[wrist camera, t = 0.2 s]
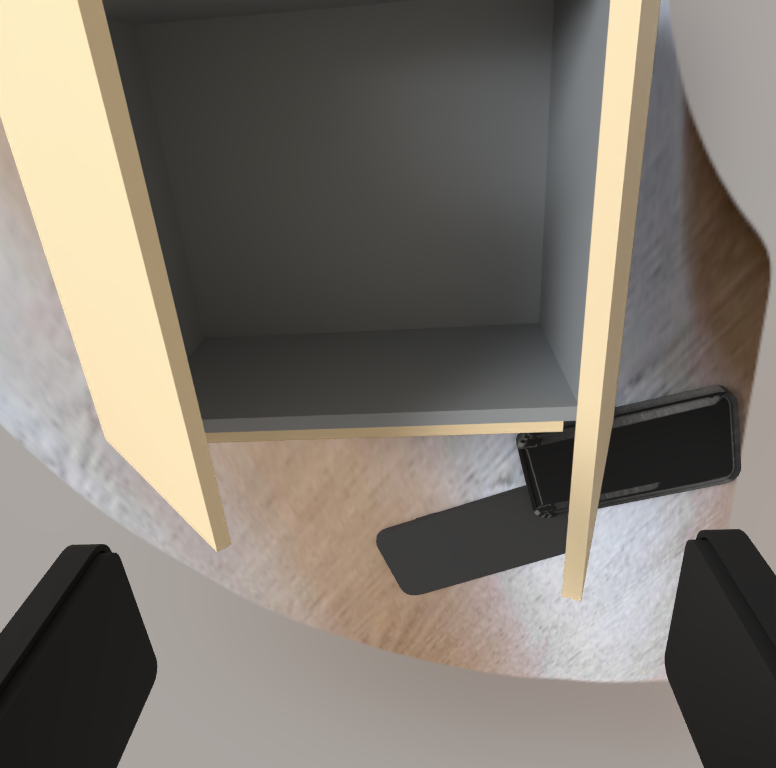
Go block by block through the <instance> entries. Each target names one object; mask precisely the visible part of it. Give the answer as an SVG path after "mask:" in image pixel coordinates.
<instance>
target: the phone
mask: <svg viewBox="0 0 776 768" xmlns="http://www.w3.org/2000/svg"><path fill="white" fill-rule="evenodd" d="M567 528H568V517H567V515H563V516H558V517H552V518H542V517H539V516H537V515H536V514H535V513H534V511H533V509H532V505H531V501H530V497H529V493H528V489H527V485H525V486H522V487H519V488H515V489H512V490H509V491H506V492H502V493H499V494H496V495H493V496H490V497H486V498H483V499H480V500H477V501H473V502H470V503H467V504H464V505H460V506H457V507H454V508H451V509H447V510H444V511H441V512H438V513H433V514H429V515H426V516H423V517H420V518H416V519H415V520H412V521H408V522H405V523H402V524H399V525H395V526H392V527H389V528H386V529H384V530H382V531H380V532H379V533H378V535H377V540H376V543H377V547H378V549H379V550H380V552H381V554H382V556H383V558H384V559H385V561H386V563H387V565H388V567H389V568H390V570H391V572H392V574H393V575H394V577H395V579H396V581H397V583H398V584H399V586H400V588H401V589H402V590H403V591H404V592H405V593H406V594H409V595H420V594H424V593H427V592H431V591H434V590H438V589H441V588H445V587H448V586H452V585H456V584H459V583H463V582H466V581H470V580H473V579H477V578H480V577H484V576H487V575H491V574H494V573H498V572H501V571H505V570H508V569H512V568H515V567H519V566H522V565H526V564H529V563H533V562H536V561H540V560H543V559H547V558H550V557H554V556H557V555H561V554H564V553H566V540H567Z"/></svg>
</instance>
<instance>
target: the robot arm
mask: <svg viewBox="0 0 776 768" xmlns="http://www.w3.org/2000/svg"><path fill="white" fill-rule="evenodd" d="M665 668H666V673H667V677H668V680H669V683H670V685H671V688H672V690H673V693H674V695H675V697H676V700H677V702H678V705H679V707H680V709H681V712H682V715H683V717H684V719H685V722H686V724H687V727H688V729H689V732H690V734H691V736H692V739H693V742H694V744H695V746H696V749H697V751H698V754H699V756H700V759H701V761H702V764H703V766H704V768H776V575H775V574H774V572H773V571H772V570H771V568H770V567H769V565H768V564H767V563H766V561H765V560H764V558H763V557H762V556H761V554H760V553H759V551H758V550H757V548H756V547H755V546H754V544H753V543H752V542H751V540H750V539H749V537H748V536H747V535H746V534H745V533H744V532H743V531H741V530H740V529H727V530H702V531H700V532H699V533H698V535H697V538H696V540H688V541H687V543H686V546H685V551H684V556H683V562H682V567H681V572H680V577H679V583H678V588H677V593H676V599H675V604H674V609H673V615H672V620H671V625H670V630H669V636H668V641H667V646H666V652H665ZM156 674H157V660H156V657H155V654H154V651H153V648H152V646H151V643H150V640H149V637H148V634H147V631H146V629H145V626H144V623H143V620H142V618H141V615H140V612H139V609H138V606H137V603H136V601H135V598H134V595H133V592H132V589H131V586H130V584H129V581H128V578H127V575H126V573H125V570H124V567H123V564H122V561H121V559H120V557H119V555H118V554H117V553H112V552H111V550H110V548H109V547H108V546H107V545H104V544H91V545H70V546H68V547H67V548H66V549H64V551H62V553H61V554H60V555H59V557H58V558H57V559H56V561H55V562H54V563H53V565H52V566H51V567H50V569H49V570H48V571H47V573H46V574H45V575H44V577H43V578H42V579H41V581H40V582H39V583H38V584H37V586H36V587H35V588H34V590H33V591H32V592H31V594H30V595H29V596H28V598H27V599H26V600H25V602H24V603H23V604H22V605H21V607H20V608H19V609H18V611H17V612H16V613H15V615H14V616H13V617H12V619H11V620H10V621H9V623H8V624H7V625H6V627H5V628H4V629H3V631H2V632H1V633H0V768H117V766H118V763H119V761H120V759H121V757H122V754H123V752H124V750H125V747H126V745H127V743H128V741H129V738H130V736H131V734H132V732H133V729H134V727H135V725H136V723H137V720H138V718H139V716H140V714H141V711H142V709H143V707H144V705H145V702H146V700H147V698H148V695H149V693H150V691H151V689H152V686H153V684H154V682H155V679H156Z"/></svg>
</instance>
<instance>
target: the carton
mask: <svg viewBox="0 0 776 768" xmlns="http://www.w3.org/2000/svg"><path fill="white" fill-rule="evenodd" d="M102 3H103V7H104V11H105V15H106V19H107V24H108V28H109V32H110V36H111V40H112V44H113V49H114V53H115V57H116V61H117V65H118V70H119V74H120V78H121V82H122V86H123V91H124V95H125V99H126V103H127V107H128V112H129V116H130V120H131V124H132V128H133V133H134V137H135V141H136V145H137V149H138V154H139V158H140V162H141V166H142V170H143V175H144V179H145V183H146V187H147V191H148V196H149V200H150V204H151V208H152V212H153V217H154V221H155V225H156V229H157V233H158V238H159V242H160V246H161V250H162V254H163V259H164V263H165V267H166V271H167V275H168V280H169V284H170V288H171V292H172V296H173V301H174V305H175V309H176V313H177V317H178V322H179V326H180V330H181V334H182V338H183V343H184V347H185V351H186V355H187V359H188V364H189V368H190V372H191V376H192V380H193V385H194V389H195V393H196V397H197V401H198V406H199V410H200V414H201V418H202V422H203V427H204V431H205V435H206V439H207V443H220V442H251V441H283V440H314V439H345V438H376V437H407V436H439V435H470V434H501V433H532V432H563V421H576V417H577V405H578V393H579V380H580V368H581V356H582V343H583V331H584V319H585V306H586V294H587V282H588V270H589V257H590V245H591V233H592V220H593V208H594V196H595V183H596V171H597V159H598V146H599V134H600V122H601V110H602V97H603V85H604V73H605V60H606V48H607V36H608V23H609V11H610V0H102Z"/></svg>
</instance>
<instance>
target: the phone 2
mask: <svg viewBox="0 0 776 768" xmlns="http://www.w3.org/2000/svg"><path fill="white" fill-rule="evenodd" d="M575 430H576V421H563V432H532V433H519V434H518V435H517V439H516V443H517V448H518V452H519V456H520V460H521V464H522V468H523V472H524V477H525V481H526V485H527V489H528V493H529V497H530V501H531V505H532V509H533V511H534V513H535V514H536V515H537V516H539V517H542V518H552V517H558V516H563V515H568V514H569V503H570V491H571V479H572V466H573V454H574V442H575ZM740 471H741V456H740V437H739V418H738V402H737V399H736V397H735V396H734V395H733V394H732V393H731V392H730V391H729V390H728V389H727V388H725V387H724V386H719V385H716V386H709V387H705V388H700V389H696V390H692V391H687V392H683V393H678V394H674V395H669V396H665V397H660V398H656V399H651V400H647V401H642V402H638V403H633V404H629V405H624V406H620V407H615V409H614V418H613V425H612V430H611V436H610V441H609V447H608V453H607V458H606V464H605V470H604V475H603V481H602V486H601V492H600V498H599V503H598V508H603V507H608V506H613V505H618V504H624V503H629V502H634V501H639V500H644V499H649V498H654V497H659V496H664V495H669V494H674V493H680V492H685V491H690V490H695V489H700V488H705V487H710V486H715V485H720V484H725V483H728V482H731V481H733V480H734V479H735V478H736V477H737V476H738V475H739V473H740Z"/></svg>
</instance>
